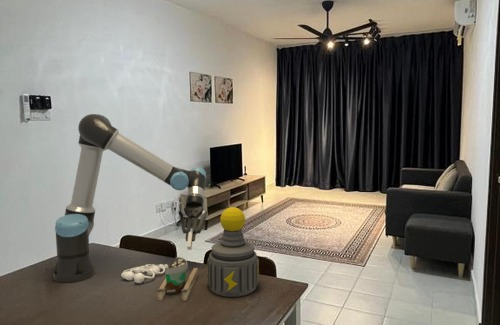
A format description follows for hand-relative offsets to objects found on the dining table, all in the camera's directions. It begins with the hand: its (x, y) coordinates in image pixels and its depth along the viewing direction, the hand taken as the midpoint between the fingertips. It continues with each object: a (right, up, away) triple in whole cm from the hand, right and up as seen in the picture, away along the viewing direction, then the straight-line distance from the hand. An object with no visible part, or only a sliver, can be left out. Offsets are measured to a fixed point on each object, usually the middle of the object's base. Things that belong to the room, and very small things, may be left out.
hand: (189, 248), depth 156 cm
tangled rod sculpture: (-18, -11, -2) cm, 21 cm away
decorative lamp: (+18, -12, -13) cm, 25 cm away
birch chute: (-2, -11, -13) cm, 18 cm away
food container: (-1, -12, -15) cm, 19 cm away
